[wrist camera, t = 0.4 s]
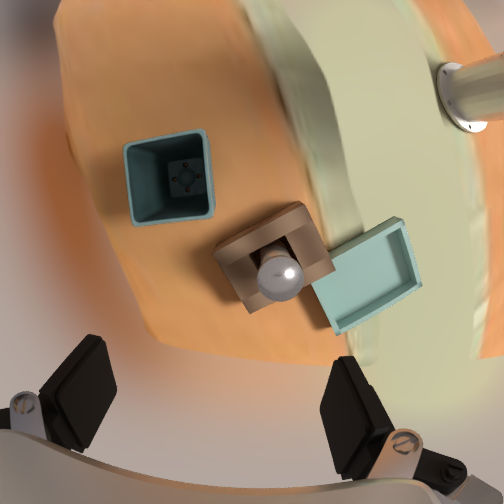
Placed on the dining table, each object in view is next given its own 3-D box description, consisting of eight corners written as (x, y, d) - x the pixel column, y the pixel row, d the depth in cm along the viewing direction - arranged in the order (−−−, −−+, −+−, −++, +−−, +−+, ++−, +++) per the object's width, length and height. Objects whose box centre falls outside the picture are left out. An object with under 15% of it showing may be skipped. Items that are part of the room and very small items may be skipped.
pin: (281, 229, 35) (291, 249, 26) (296, 259, 36) (311, 288, 27) (249, 246, 36) (248, 271, 26) (266, 275, 37) (270, 308, 27)
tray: (393, 216, 35) (403, 219, 32) (413, 279, 37) (422, 285, 34) (302, 266, 36) (305, 273, 34) (331, 326, 39) (336, 336, 36)
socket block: (298, 200, 34) (304, 204, 30) (327, 260, 36) (336, 270, 32) (216, 245, 36) (212, 253, 32) (250, 300, 38) (249, 314, 34)
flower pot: (159, 215, 35) (131, 228, 26) (151, 150, 32) (121, 143, 24) (224, 208, 34) (214, 218, 26) (217, 139, 32) (205, 127, 24)
